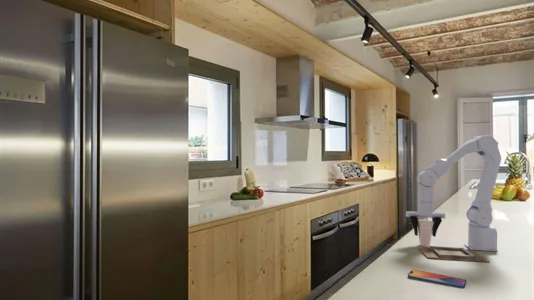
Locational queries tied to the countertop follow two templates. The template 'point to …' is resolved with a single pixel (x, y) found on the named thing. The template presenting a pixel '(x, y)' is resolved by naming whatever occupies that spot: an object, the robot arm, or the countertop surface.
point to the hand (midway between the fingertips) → (424, 235)
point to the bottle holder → (452, 254)
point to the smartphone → (437, 278)
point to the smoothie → (425, 232)
